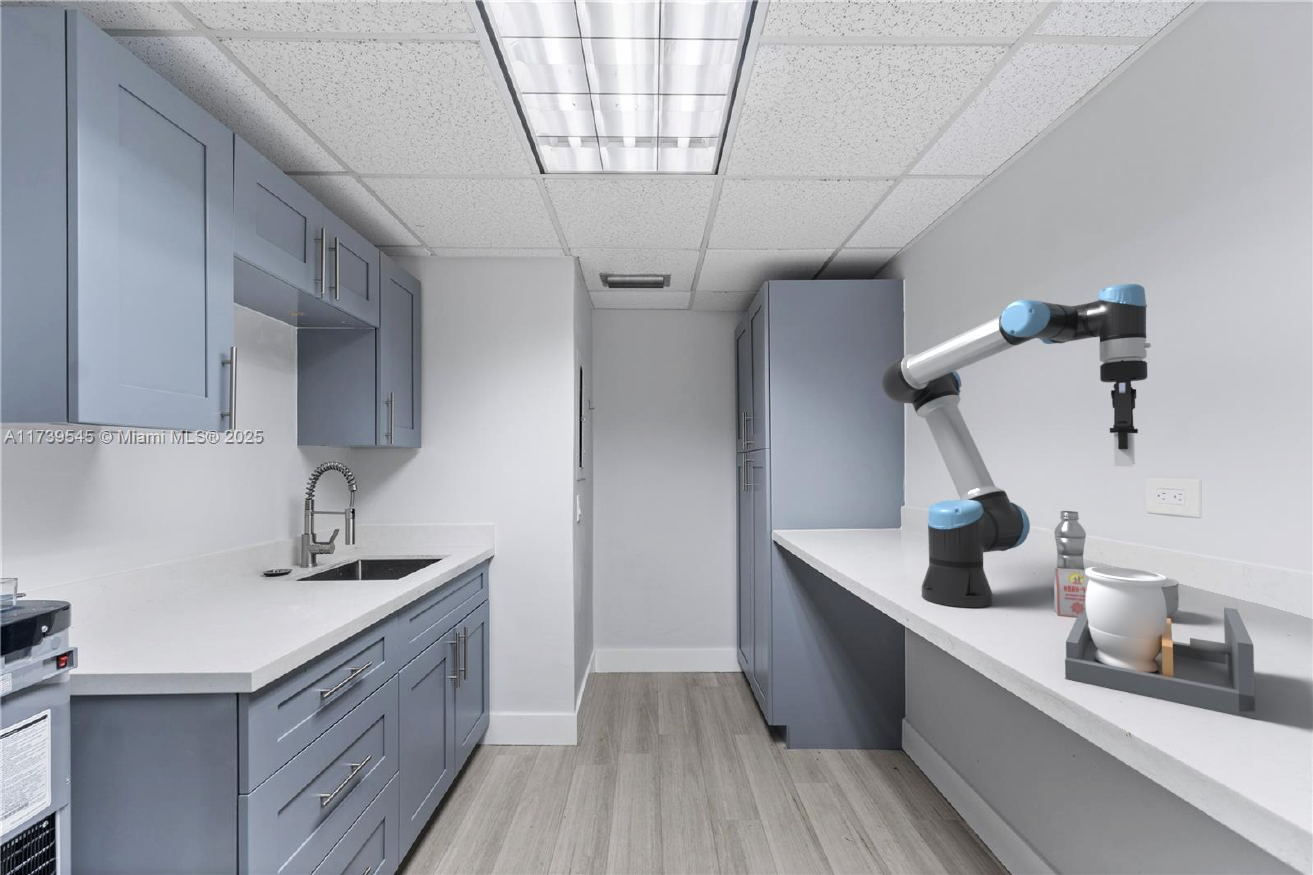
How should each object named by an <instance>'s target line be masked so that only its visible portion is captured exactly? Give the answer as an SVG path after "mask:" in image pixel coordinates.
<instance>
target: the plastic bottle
mask: <svg viewBox="0 0 1313 875" xmlns="http://www.w3.org/2000/svg"><path fill="white" fill-rule="evenodd" d="M1059 519H1060V520H1061V521H1060V522H1059V523H1058V525H1057V526H1056V527H1055V528H1054V532H1053V534H1054V539H1055V545H1056V553H1057V555H1056V556H1057V557H1056V558H1057V559H1056V568H1062V569H1076V570H1085V564H1084V549H1085V543H1086V537H1087V533H1086V530H1085V529H1084V527H1083V526H1082V525H1081V523H1080V522H1079V520H1080V517H1079V512H1078V511H1072V510H1061V511H1060V517H1059ZM1054 580H1055V578H1054Z"/></svg>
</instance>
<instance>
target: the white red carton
mask: <svg viewBox="0 0 1313 875" xmlns="http://www.w3.org/2000/svg"><path fill="white" fill-rule="evenodd" d="M1085 571H1086V570H1085V569H1084V570H1076V569H1062V568H1057V567H1055V568H1054V579H1055V580H1054V585H1053V590H1054V591H1053V592H1054V594H1053V596H1054V598H1053V599H1054V600H1053V601H1054V613H1055V614H1056V616H1057V617H1064V618H1075V619H1077V616H1078V615H1084V616H1087V614H1086V605H1085V599H1086V590H1087V585H1088V582H1089V578H1088V577H1087V576H1086V574H1085Z"/></svg>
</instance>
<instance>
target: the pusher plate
mask: <svg viewBox="0 0 1313 875" xmlns="http://www.w3.org/2000/svg"><path fill="white" fill-rule="evenodd" d="M1172 641H1173V632H1172V619H1171V618H1170V617H1168V618H1167V623H1166V629H1165V633H1164V634H1162V674H1163V676H1167V677H1172V678H1173V643H1172Z"/></svg>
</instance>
